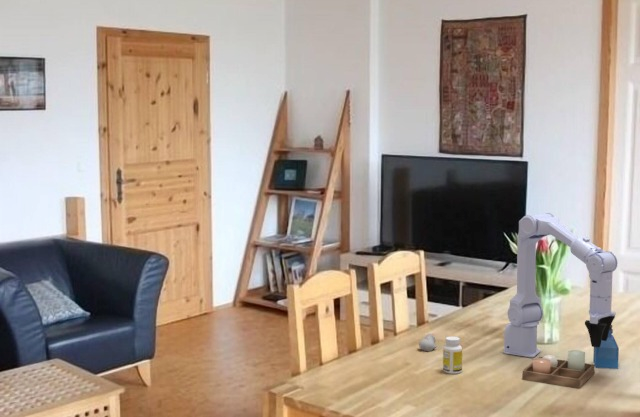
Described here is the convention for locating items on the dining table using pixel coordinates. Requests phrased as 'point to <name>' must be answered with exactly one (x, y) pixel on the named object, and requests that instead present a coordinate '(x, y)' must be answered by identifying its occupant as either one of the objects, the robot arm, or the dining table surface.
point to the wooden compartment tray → (560, 375)
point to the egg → (552, 360)
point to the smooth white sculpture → (428, 343)
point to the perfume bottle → (607, 353)
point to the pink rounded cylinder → (541, 365)
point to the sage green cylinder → (576, 360)
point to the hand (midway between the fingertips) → (599, 343)
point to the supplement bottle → (452, 356)
